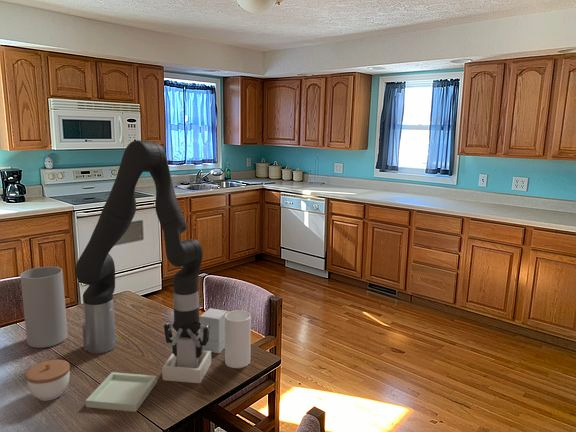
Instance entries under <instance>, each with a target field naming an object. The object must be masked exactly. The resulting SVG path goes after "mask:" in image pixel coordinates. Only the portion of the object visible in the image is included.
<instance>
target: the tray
mask: <svg viewBox="0 0 576 432" xmlns="http://www.w3.org/2000/svg"><path fill="white" fill-rule="evenodd" d="M157 383H158V376H157V375H149V374H140V373H139V374H137V373H125V372H116V371H115V372H114V371H112V372H111V373H110V374H108V375H107V377H106V378H105V379H104V380H103V381H102V382H101V383H100V384H99V386H98V387H96V388H95V390H93V392H91V394H90V395H89V396H88V397H87V398H86V399H85V407H86V408H91V409H92V408H93V409H102V410H114V411H123V412H133V413H136V412H137V411H138V410H139V408H140V407H141V405H143V403H144V401H145V400H146V398H147V397H148V396H149V394H150V393H151V391H152V390H153V389H154V388H155V386H156V385H157Z"/></svg>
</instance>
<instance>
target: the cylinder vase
mask: <svg viewBox="0 0 576 432" xmlns="http://www.w3.org/2000/svg"><path fill="white" fill-rule="evenodd" d="M19 276H20V284H21V285H20V286H21V294H22V297H21V298H22V306H23V314H24V317H23V318H24V325H25V334H26V343H27V345H28V346H29V347H32V348H34V349H44V348H51V347H53V346H56V345H59V344H61V343H63V342H64V341H66V339H67V338H68V335H69V334H68V333H69V332H68V322H67V311H66V298H65V285H64V272H63V268H61V267H58V266H41V267H35V268H34V267H33V268H31V269H30V268H29V269H27V270H25V271H23V272H21V273H20V274H19Z"/></svg>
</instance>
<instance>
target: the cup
mask: <svg viewBox="0 0 576 432" xmlns="http://www.w3.org/2000/svg"><path fill="white" fill-rule="evenodd" d="M251 316H252V314H251V313H250V312H249V311H246V310H240V309H239V310H238V309H237V310H231V311H228V313H227V314H226V315H225V348H224V363H225V365H226V366H227V367H228V368H231V369H241V368H245V367H248V366H249V365H250V363H251V339H252V338H251V334H252V333H251V329H252V328H251V326H252V325H251V321H252V320H251V318H252V317H251ZM248 364H249V365H248Z"/></svg>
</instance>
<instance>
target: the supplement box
mask: <svg viewBox="0 0 576 432" xmlns="http://www.w3.org/2000/svg"><path fill="white" fill-rule="evenodd" d="M228 312H229V311H228V310H223V309H218V308H217V309H216V308H211V307H210V308H208V309H207V310H205V312H203V313H202V314H200V315H199V322H200V324H201V325H205V326H206V325H207V324H209V325H210V330H209V341H208V342H207V344H206V346H202V350H205V351H211V353H213V354H214V353H215V354H220V353H222V352H223V350H225V315H226V314H227V313H228ZM199 334H200V337H201V339H202V340H203V333H202V330H201V329H199Z"/></svg>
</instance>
